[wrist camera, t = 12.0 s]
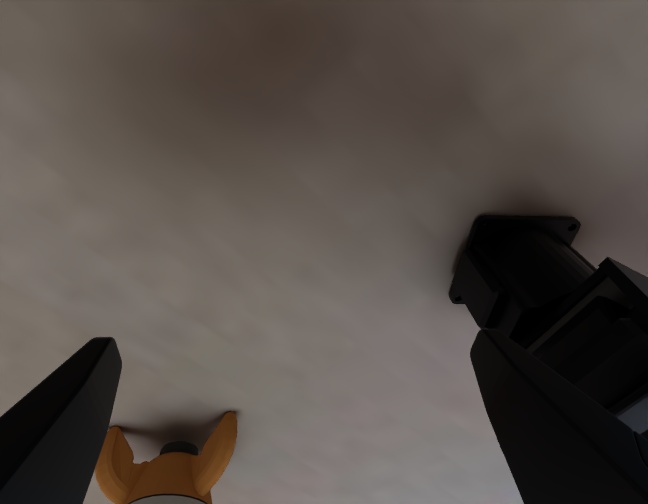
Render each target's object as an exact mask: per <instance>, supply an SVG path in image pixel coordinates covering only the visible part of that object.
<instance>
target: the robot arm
mask: <svg viewBox="0 0 648 504" xmlns="http://www.w3.org/2000/svg"><path fill="white" fill-rule="evenodd" d="M486 222H487V223H486ZM483 223H486V224H485V225H484V226H482V224H483ZM570 225H571V226H570ZM569 226H570V227H569ZM580 226H581V224H580V222H579V221H578V220H577V219H576V218H574V217H551V216H503V215H483V216H480V217H478V218H477V219H476V220H475V222H474V225H473V228H472V231H471V233H470V236H469V239H468V242H467V245H466V248H465V249H464V250H463V252H462V255H461V258H460V261H459V264H458V267H457V269H456V272H455V275H454V278H453V281H452V282H453V285H452V288H451V291H450V293H449V298H450V300H451V301H452V303H454V304H465V305H466V306H467V308H468V310H469V311H470V313H471V315H472V317H473V318H474V320H475V322H476V323H477V325H478V326H479V327H480V328H481V330H480V331H479V332H478V334H477V336H476V338H475V341H474V343H473V345H472V348H471V351H470V357H471V361H472V365H473V368H474V371H475V375H476V378H477V382H478V385H479V388H480V392H481V395H482V399H483V402H484V405H485V408H486V411H487V414H488V417H489V419H490V422H491V424H492V427H493V429H494V432H495V434H496V437H497V440H498V442H499V444H500V447H501V450H502V451H503V454H504V456H505V458H506V461H507V463H508V466H509V468H510V471H511V473H512V475H513V478H514V480H515V483H516V485H517V488H518V490H519V492H520V495H521V497H522V500H523V502H524V504H648V277H646V276H644V275H642V274H640V273H638V272H636V271H634V270H632V269H630V268H629V267H627V266H625V265H623V264H621V263H619V262H617V261H615V260H613V259H611V258H609V257H607V258H606V259H605V260H604V261H603V262H601V263H600V264H599V265H598V266H599V268H598V269H596V268H595V267H594V266H593V265H591V264H590V263H589V262H588V261H587V260H586V259H585V258H584V257H583V256H581V255H580V254H579V253H578V252H577V251H576V250H575V249H574V248H573V247H571V246H570V245H571V243H572V242H573V240H574V238H575V236H576V234H577V232H578V230H579V228H580ZM457 296H458V297H457ZM121 369H122V360H121V357H120V354H119V351H118V348H117V345H116V342H115V339H114V338H112V337H96V338H93V339H91V340H90V341H89V342H87V343H86V344H85V345H84V346H83V347H82V348H80V349H79V350H78V351H77V352H76V353H75V354H73V355H72V356H71V357H70V358H69V359H68V360H66V361H65V362H64V363H63V364H62V365H61V366H59V367H58V368H57V369H56V370H55V371H54V372H52V373H51V374H50V375H49V376H48V377H47V378H45V379H44V380H43V381H42V382H41V383H40V384H38V385H37V386H36V387H35V388H34V389H33V390H31V391H30V392H29V393H28V394H27V395H26V396H24V397H23V398H22V399H21V400H20V401H18V402H17V403H16V404H15V405H14V406H13V407H11V408H10V409H9V410H8V411H7V412H6V413H4V414H3V415H2V416H1V417H0V504H83V501H84V498H85V496H86V493H87V490H88V487H89V484H90V481H91V478H92V475H93V473H94V470H95V467H96V464H97V461H98V458H99V455H100V453H101V450H102V447H103V444H104V441H105V438H106V435H107V431H108V427H109V423H110V418H111V414H112V410H113V405H114V401H115V396H116V392H117V387H118V383H119V379H120V374H121Z"/></svg>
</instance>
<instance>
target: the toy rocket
mask: <svg viewBox="0 0 648 504" xmlns="http://www.w3.org/2000/svg"><path fill="white" fill-rule="evenodd" d="M236 437H237V419H236V416H235V413H234V412H228V413H226V414H225V415H224V417H223V418H222V420H221V421H220V423H219V424H218V426H217V427H216V429H215V430H214V432H213V433H212V434H211V436H210V437H209V439H208V440H207V441H206V443H205V445H204V447H203V450H202V453H201V454H200V455H199V456H198V448H197V447H196V446H195V445H193V444H191V443H188V442H183V441H177V442H171V443H168V444H166V445H164V446H163V447H162V449H161V452H160V455H159V456H157V457H156V458H154V459H153V460H151V461H150V462H147V461H145V462H142V463H141V464H134V463H133V459H134V456H133V452H132V450H131V448H130V446H129V444H128V442H127V441H126V439H125V437H124V435H123V433H122V431H121V430H120V428H119V427H112V428H111V429H110V430H109V431H108V432H107V435H106V438H105V441H104V444H103V447H102V450H101V453H100V455H99V458H98V461H97V464H96V467H95V474H96V479H97V482H98V484H99V486H100V488H101V490H102V491H103V493H104V494H105V495H106V496H107V498H108V499H110V500H111V501H112V502H114V503H115V504H212V499H211V493H210V489H211V488H212V487H213V486H214V485H215V484H216V482H217V481H218V480H219V478H220V477H221V475H222V474H223V472H224V470H225V469H226V467H227V465H228V463H229V461H230V458H231V456H232V454H233V450H234V447H235V443H236Z"/></svg>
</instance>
